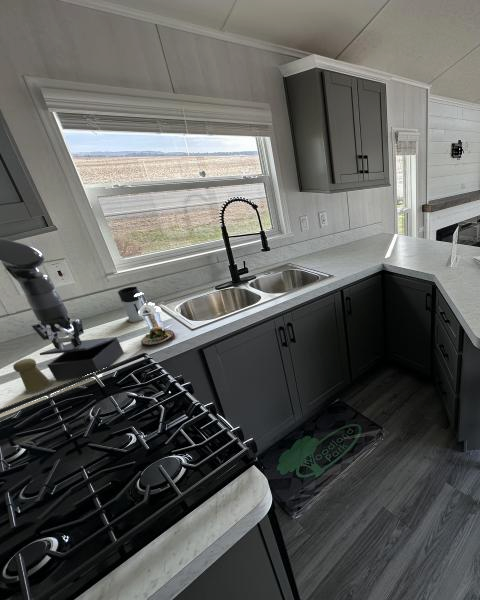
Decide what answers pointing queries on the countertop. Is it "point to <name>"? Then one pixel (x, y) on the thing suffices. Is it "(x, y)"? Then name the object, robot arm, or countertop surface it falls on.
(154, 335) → the bowl of salad
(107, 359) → the black hinged lid box
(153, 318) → the cup with straw
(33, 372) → the cork
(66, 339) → the hatch
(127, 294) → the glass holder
